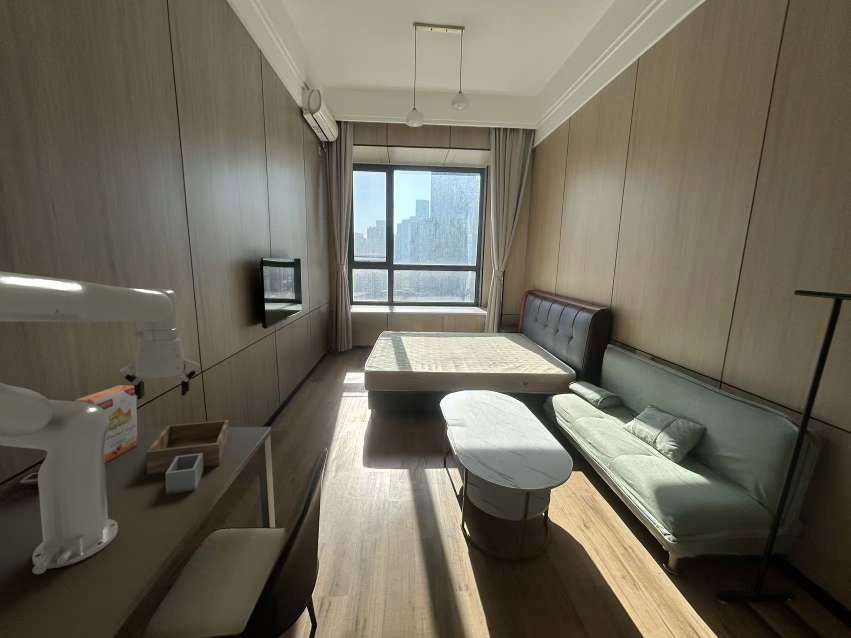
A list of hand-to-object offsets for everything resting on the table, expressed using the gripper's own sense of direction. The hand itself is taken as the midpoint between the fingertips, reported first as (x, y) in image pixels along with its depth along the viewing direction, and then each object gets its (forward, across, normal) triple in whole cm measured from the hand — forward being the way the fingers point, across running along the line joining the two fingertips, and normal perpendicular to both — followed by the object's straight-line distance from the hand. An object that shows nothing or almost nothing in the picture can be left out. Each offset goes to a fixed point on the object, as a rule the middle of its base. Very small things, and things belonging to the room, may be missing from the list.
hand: (163, 395), depth 91 cm
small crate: (+25, +5, -4) cm, 26 cm away
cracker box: (+25, -19, +20) cm, 37 cm away
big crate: (+25, +4, +13) cm, 29 cm away
